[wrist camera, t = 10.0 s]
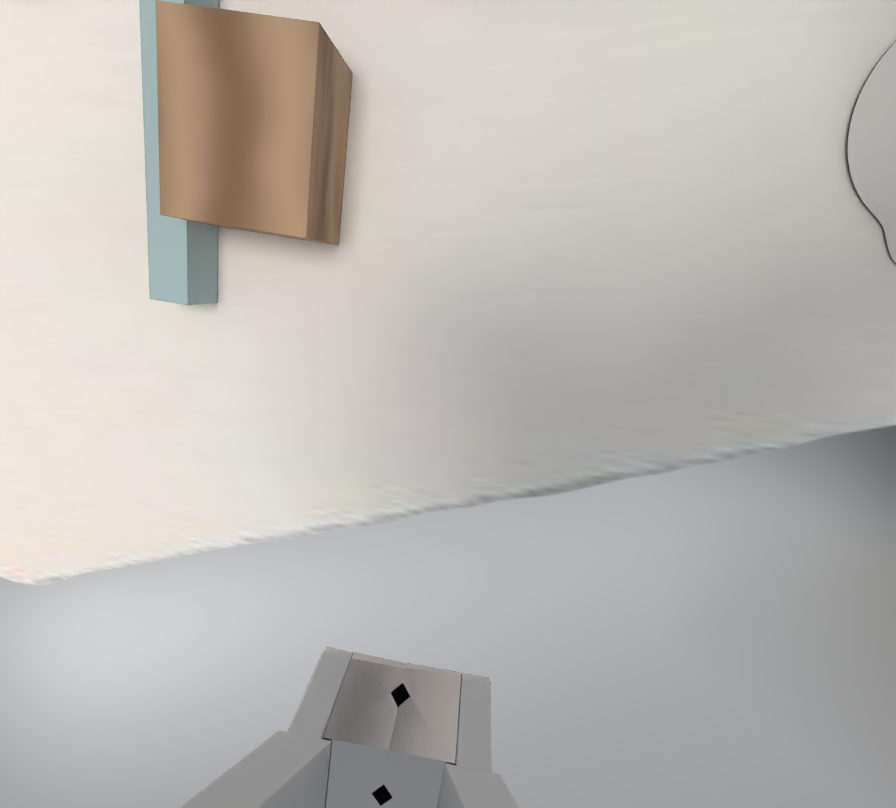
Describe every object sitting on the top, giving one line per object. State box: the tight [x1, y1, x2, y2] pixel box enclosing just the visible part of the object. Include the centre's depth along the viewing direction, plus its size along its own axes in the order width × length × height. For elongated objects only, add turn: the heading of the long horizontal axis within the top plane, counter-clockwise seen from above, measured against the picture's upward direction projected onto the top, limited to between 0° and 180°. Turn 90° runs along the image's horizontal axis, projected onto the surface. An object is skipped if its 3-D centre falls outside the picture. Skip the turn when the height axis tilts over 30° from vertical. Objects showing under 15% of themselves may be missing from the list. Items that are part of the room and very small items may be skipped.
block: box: [155, 0, 352, 245], centre depth 32 cm, size 10×12×7 cm
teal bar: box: [139, 0, 219, 305], centre depth 33 cm, size 3×26×4 cm, turn 172°
